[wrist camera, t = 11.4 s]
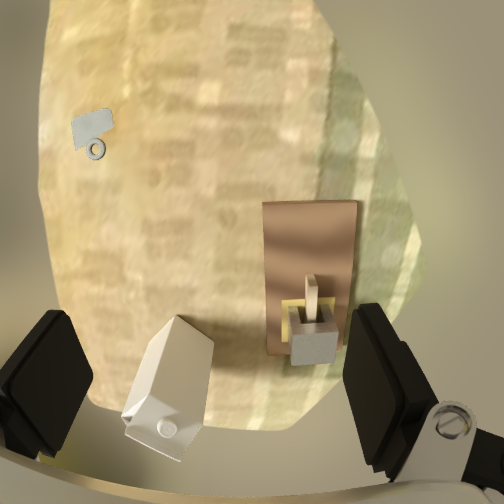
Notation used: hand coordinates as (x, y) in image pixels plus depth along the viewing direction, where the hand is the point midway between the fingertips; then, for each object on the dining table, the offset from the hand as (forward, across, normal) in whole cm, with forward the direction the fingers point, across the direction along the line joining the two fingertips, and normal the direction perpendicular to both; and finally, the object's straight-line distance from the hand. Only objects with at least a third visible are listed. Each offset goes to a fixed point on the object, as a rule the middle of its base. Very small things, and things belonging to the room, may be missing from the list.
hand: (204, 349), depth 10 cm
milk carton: (+28, +10, +23) cm, 38 cm away
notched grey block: (+27, -8, +19) cm, 34 cm away
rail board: (+28, -8, +14) cm, 33 cm away
